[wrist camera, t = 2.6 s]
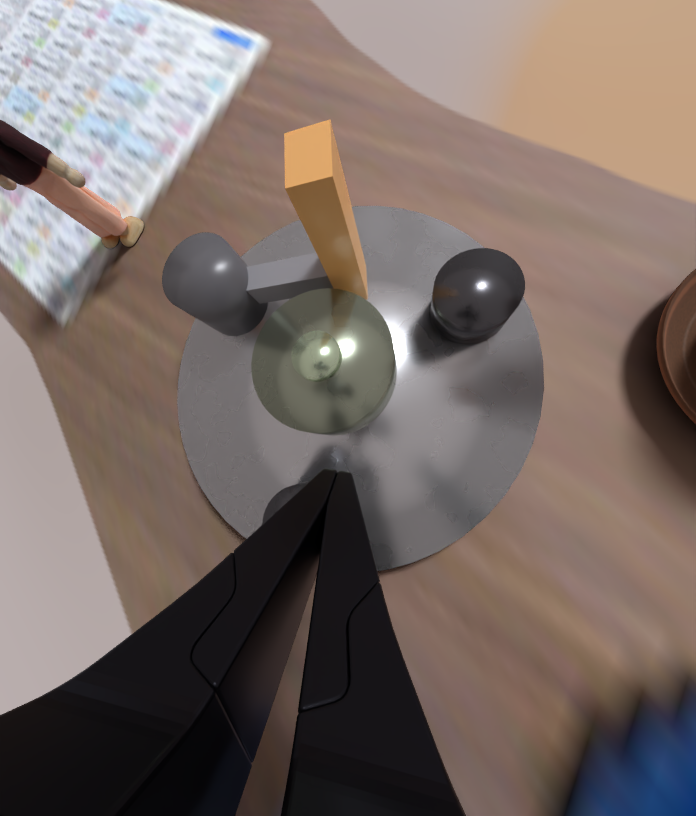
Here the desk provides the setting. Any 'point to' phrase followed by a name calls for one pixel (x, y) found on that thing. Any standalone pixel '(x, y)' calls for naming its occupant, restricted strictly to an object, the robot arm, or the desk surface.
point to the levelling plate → (414, 434)
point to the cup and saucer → (680, 345)
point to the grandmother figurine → (61, 187)
